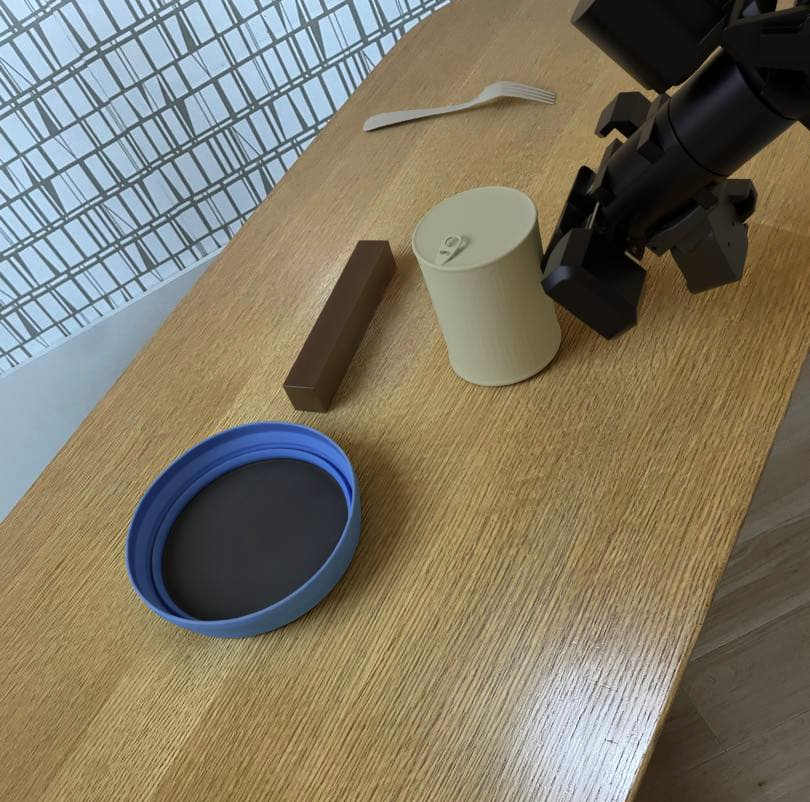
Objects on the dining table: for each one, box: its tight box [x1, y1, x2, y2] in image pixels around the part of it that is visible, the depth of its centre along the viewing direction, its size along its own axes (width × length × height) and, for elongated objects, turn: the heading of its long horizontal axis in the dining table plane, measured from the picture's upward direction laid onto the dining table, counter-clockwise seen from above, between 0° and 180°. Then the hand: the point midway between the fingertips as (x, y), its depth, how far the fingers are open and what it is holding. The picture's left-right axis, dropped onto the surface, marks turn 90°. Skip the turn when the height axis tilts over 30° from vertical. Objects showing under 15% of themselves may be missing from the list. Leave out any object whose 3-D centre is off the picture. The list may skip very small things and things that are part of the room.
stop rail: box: [282, 239, 397, 414], centre depth 73 cm, size 3×18×3 cm, turn 160°
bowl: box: [124, 420, 362, 639], centre depth 62 cm, size 18×18×4 cm
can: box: [411, 185, 562, 387], centre depth 64 cm, size 9×9×12 cm
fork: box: [362, 80, 556, 132], centre depth 90 cm, size 3×21×3 cm, turn 80°
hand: (541, 279), depth 62 cm, fingers closed, pressing on can
